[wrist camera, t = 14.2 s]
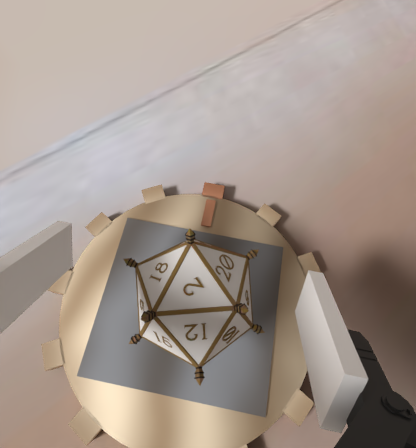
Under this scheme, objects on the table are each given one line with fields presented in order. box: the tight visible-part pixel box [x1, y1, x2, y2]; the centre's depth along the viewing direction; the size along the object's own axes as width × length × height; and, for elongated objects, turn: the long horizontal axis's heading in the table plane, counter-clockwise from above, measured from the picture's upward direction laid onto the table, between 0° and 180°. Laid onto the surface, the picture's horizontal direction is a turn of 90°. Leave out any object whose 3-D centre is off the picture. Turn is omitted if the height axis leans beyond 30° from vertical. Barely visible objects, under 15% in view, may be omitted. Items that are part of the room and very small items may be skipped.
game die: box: [124, 228, 265, 385], centre depth 19 cm, size 9×8×10 cm
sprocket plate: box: [41, 182, 321, 448], centre depth 23 cm, size 21×21×1 cm
